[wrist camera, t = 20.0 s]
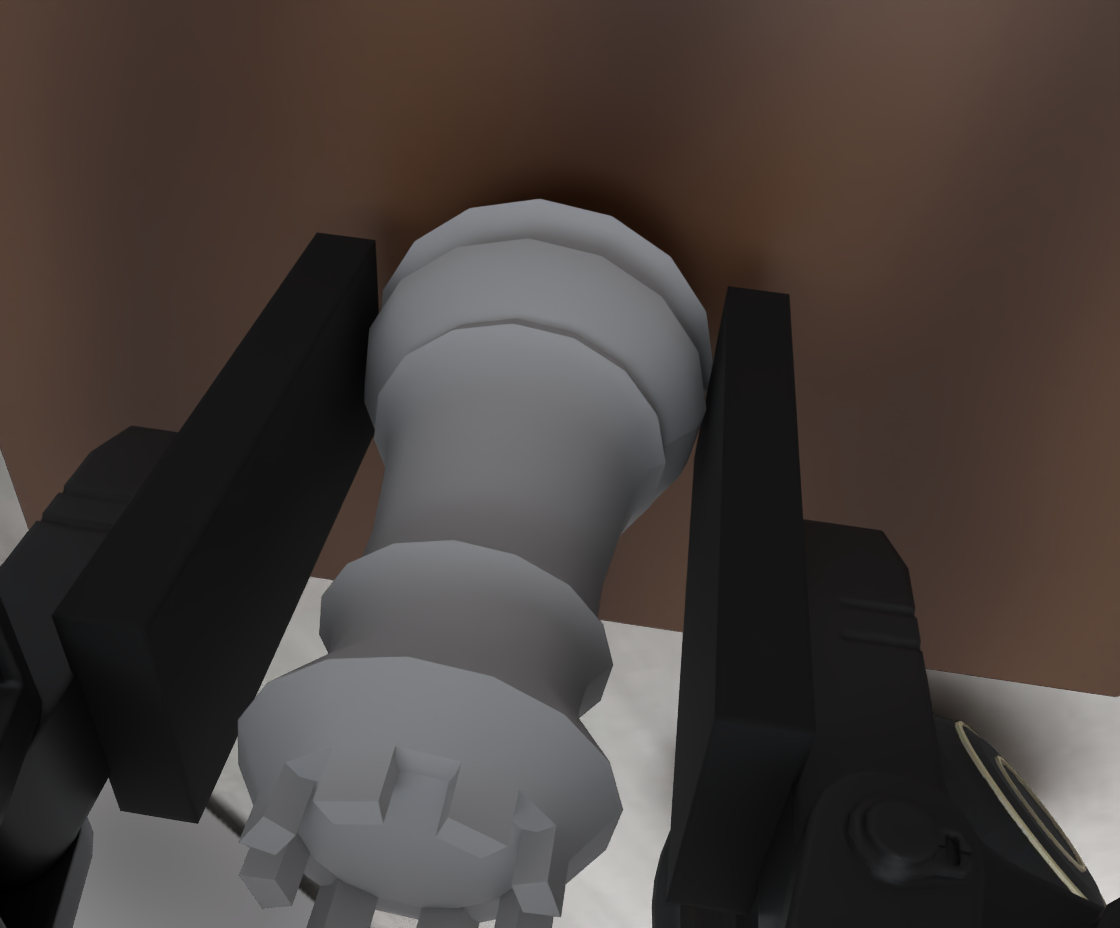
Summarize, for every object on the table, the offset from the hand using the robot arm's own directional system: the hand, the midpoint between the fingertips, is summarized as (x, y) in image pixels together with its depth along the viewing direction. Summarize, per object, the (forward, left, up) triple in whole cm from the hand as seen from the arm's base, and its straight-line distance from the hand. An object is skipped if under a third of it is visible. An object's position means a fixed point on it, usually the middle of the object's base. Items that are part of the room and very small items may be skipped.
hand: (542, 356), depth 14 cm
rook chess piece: (0, 0, -1) cm, 1 cm away
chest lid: (0, 0, -2) cm, 2 cm away
